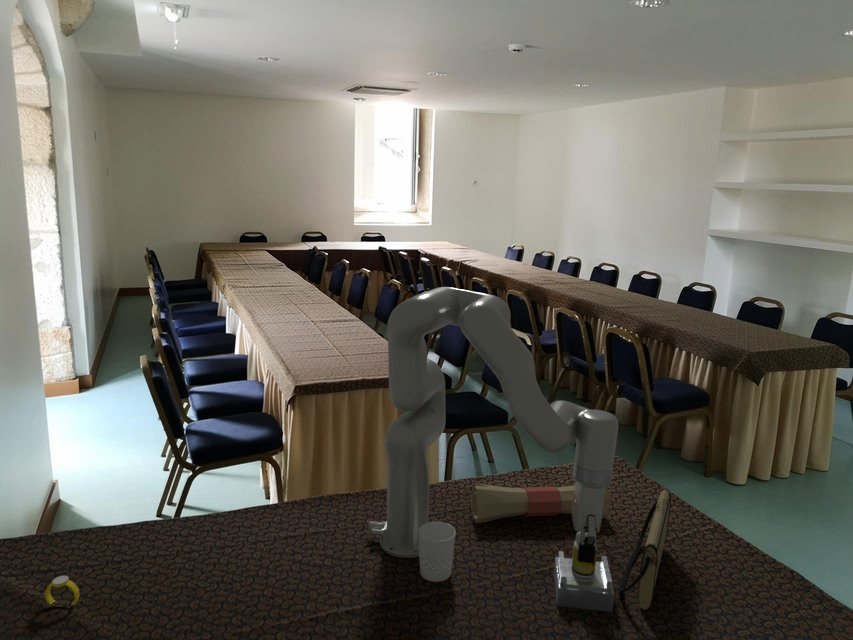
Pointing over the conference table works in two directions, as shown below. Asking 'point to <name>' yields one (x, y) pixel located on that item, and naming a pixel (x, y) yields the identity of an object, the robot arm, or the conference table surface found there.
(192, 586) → the conference table surface
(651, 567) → the beige handbag
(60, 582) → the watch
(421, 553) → the white cup
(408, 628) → the conference table surface
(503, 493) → the scroll
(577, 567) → the supplement bottle
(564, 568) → the grey drawer with knob
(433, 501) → the conference table surface
